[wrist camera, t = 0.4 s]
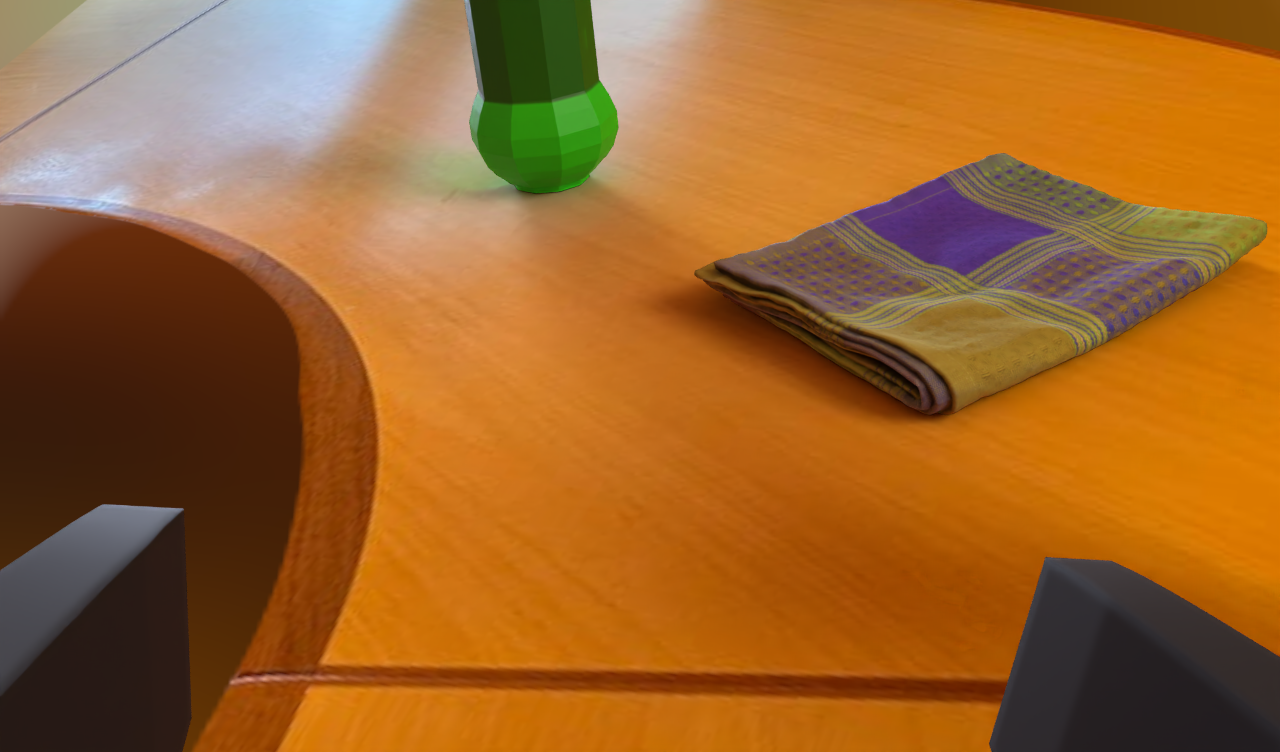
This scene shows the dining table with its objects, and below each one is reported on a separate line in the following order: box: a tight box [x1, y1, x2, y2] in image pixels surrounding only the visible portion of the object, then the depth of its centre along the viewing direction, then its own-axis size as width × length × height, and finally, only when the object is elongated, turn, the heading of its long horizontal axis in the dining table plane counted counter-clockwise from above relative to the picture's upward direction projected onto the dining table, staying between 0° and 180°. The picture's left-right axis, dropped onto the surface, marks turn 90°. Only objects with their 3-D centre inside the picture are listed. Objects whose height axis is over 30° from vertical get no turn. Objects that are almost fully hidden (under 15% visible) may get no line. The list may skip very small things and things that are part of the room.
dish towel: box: [694, 153, 1267, 415], centre depth 59 cm, size 18×24×3 cm
